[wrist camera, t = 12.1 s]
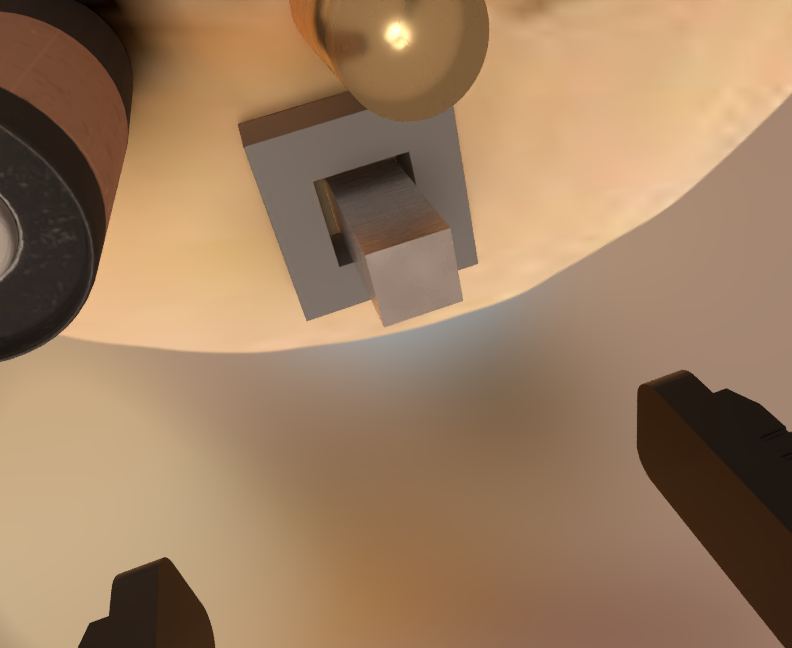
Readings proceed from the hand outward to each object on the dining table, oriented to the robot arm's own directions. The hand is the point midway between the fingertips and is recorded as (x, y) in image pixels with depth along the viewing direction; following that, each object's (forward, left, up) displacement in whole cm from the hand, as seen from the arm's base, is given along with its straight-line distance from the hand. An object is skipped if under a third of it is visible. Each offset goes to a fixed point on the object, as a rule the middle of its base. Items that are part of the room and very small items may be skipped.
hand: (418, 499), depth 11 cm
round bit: (-3, +6, -30) cm, 31 cm away
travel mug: (-3, -9, -30) cm, 32 cm away
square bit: (+8, +4, -30) cm, 31 cm away
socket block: (+7, +4, -30) cm, 31 cm away
